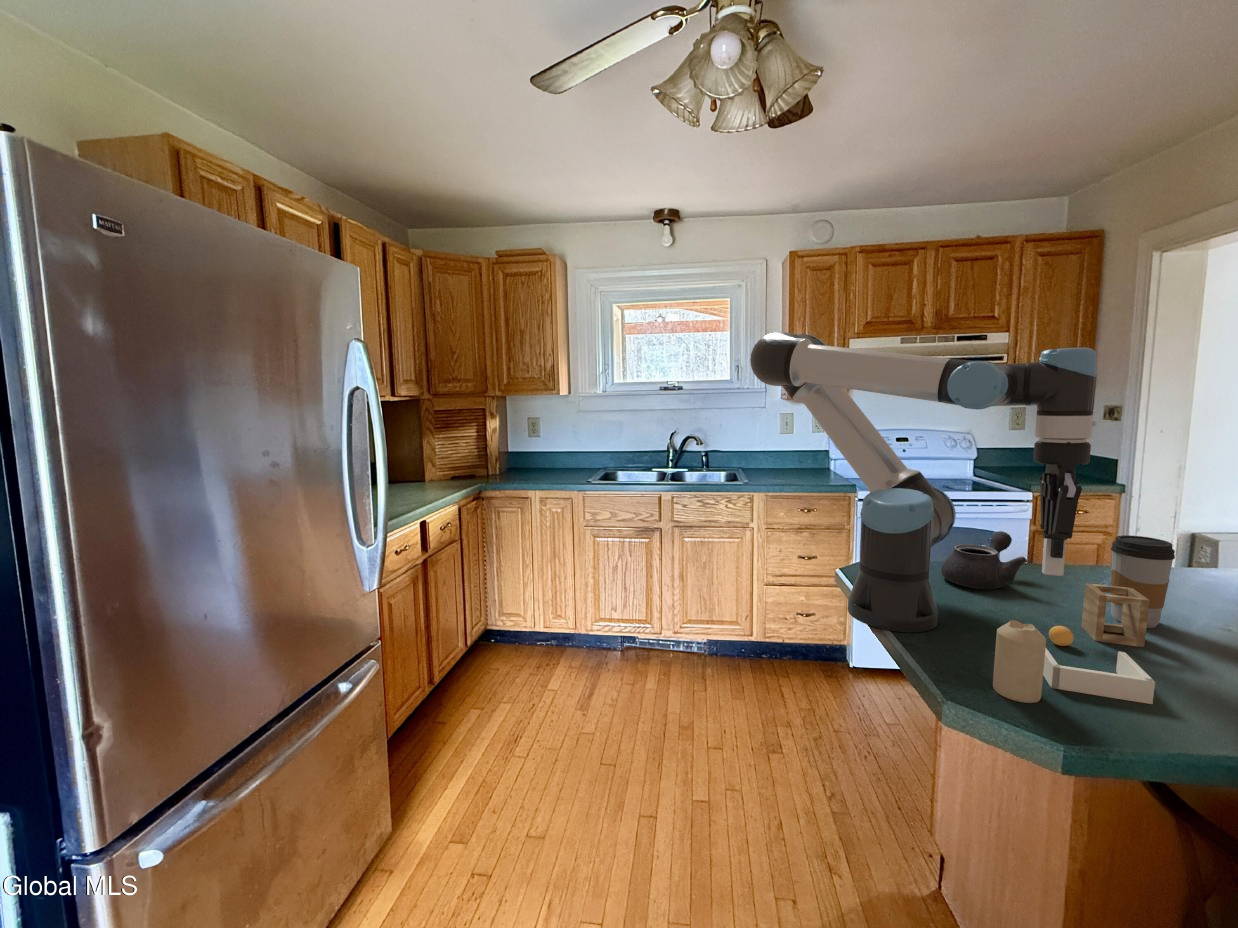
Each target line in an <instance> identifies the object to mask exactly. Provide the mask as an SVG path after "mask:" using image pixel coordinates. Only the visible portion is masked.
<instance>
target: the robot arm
mask: <svg viewBox="0 0 1238 928" xmlns="http://www.w3.org/2000/svg"><path fill="white" fill-rule="evenodd" d="M749 363H750V367H751V371H752V372H753V374H754V375H755V377H756V378H757V379H758V380H759V381H760V382H761V383H763V384H765V385H768V386H775V387H782V388H783V390H785V393H786V394H787V395H788V396H789V398H790V399H791V400H792V401H793V403H796V404H803V405H804V406H805V407H806V408H807V410H808V411H809V413H810V414H811V415H812V416H813V418H814V419H815V420H816V421H817V423H818V424H819V426H820V427H821V429H822V430H823V431H824V433H825V434H826V435H827V436H828V437H829V439H830V441H832V444H834V446H835V447H836V448H837V449H838V451H839V452H840V454H841V455H842V457H843V458H844V459H845V460H846V462H847V463H848V464H849V465H850V467H851V468H852V470H853V471H854V472H855V474H856V475H857V476H858V478H859V479H860V481H862V483H863V484H864V486H866V488H867V490H868V491H869V493H867V494H866V495H865V496H864V498H863V500H862V505H861V509H860V514H859V515H860V537H859V538H860V541H859V544H860V545H859V566H858V567H859V569H858V574H857V576H856V579H855V581H854V584H853V585H852V588H851V591H850V593H849V596H848V599H847V612H848V614H849V615H850V617H852V618H853V619H855V620H856V621H858V622H861V623H862V624H865V625H868V626H870V627H873V628H878V629H880V630H881V629H882V630H886V631H890V632H891V631H892V632H899V633H921V632H927V631H931V630H933V629H934V628H936V627H937V625H938V615H939V614H938V613H939V611H938V608H937V604H936V601H935V597H934V595H933V591H932V587H931V584H930V580H929V579H930V562H931V549H932V547H934V546H935V545H936V544H938V543H940V542H943V540H944V539H946V538H947V536H948V535H949V534H950V533H951V531H952V529H953V528H954V525H955V522H956V517H957V515H956V508H955V506H954V502H953V501H952V499H951V498H950V497H949V495H947V494H946V493H945V492H944V491H943V490H941V489H940V488H937V487H936V486H932V485H931V483H930V482H929V481H928V480H927V478H926V476H925V475H924V474H922V472H921V471H920V470H917V469H911V468H908V467H907V466H906V465H905V463H904V462H903V461H902V460H901V458H900V457H899V456H898V455H897V454H896V452H895V451H894V449H893V448H892V447H891V446H890V444H889V443H888V442H887V441H886V440H885V438H884V437H883V436H882V435H881V433H880V432H879V431H878V429H877V428H876V427H875V425H874V424H873V423H872V422H871V421H870V420H869V418H868V417H867V416H866V414H865V413H864V411H862V409H861V408H860V407H859V406H858V404H857V403H856V402H855V400H854V399H853V397H851V395H850V394H849V393H848V392H847V390H846V389H849V390H856V391H862V392H869V393H875V394H883V395H889V396H895V397H896V396H897V397H902V398H908V399H909V398H910V399H915V400H923V401H928V402H929V401H930V402H934V403H936V402H937V403H942V404H947V405H955V406H959V407H962V408H963V409H970V410H983V409H984V410H985V409H988V408H991V407H1008V406H1009V407H1012V406H1014V407H1015V406H1027V407H1028V406H1029V407H1030V406H1036V415H1035V423H1034V424H1035V427H1034V437H1035V438H1036V439H1038V440H1036V441H1035V442H1034V444H1033V445H1034V447H1033V461H1034V462H1035V463H1038V464H1043V465H1044V464H1045V470H1044V471H1045V472H1042V475H1039V477H1038V480H1039V481H1038V482H1039V487H1040V491H1039V492H1040V496H1039V497H1040V499H1039V500H1040V501H1039V502H1040V524H1039V525H1040V527H1039V528H1040V529H1041V530H1042V532H1043V534H1042V538H1043V547H1042V548H1043V551H1042V564H1041V572H1042V573H1043V575H1047V576H1057V577H1058V576H1061V577H1064V574H1065V572H1064V571H1065V560H1066V546H1067V540H1068V539H1069V540H1070V539H1072V538H1073V532H1074V527H1075V521H1076V517H1077V516H1076V515H1077V509H1078V505H1079V499H1080V497H1081V493H1082V491H1083V488H1082V485H1078V484H1079V483H1078V481H1079V477H1078V475H1077V474H1076V467H1077V466H1083V465H1088V464H1089V463H1090V461H1091V449H1092V448H1091V447H1092V444H1091V443H1090V442H1089V441H1087V440H1089V439H1091V438H1092V431H1093V428H1092V427H1095V426H1097V425H1096V424H1097V421H1096V420H1093V418H1094V411H1095V410H1094V406H1095V398H1096V389H1097V380H1098V372H1097V371H1098V370H1097V369H1098V354H1097V352H1096V351H1095V350H1094V349H1093V348H1090V347H1067V348H1056V349H1054V348H1053V349H1052V348H1051V349H1045V350H1043V351H1041V353H1040V356H1039V359H1038V361H1033V362H1021V363H1017V362H1016V363H995V362H991V361H984V360H969V359H968V360H967V359H959V358H958V359H957V358H956V359H955V358H948V357H939V356H928V355H921V354H918V355H917V354H910V353H909V354H908V353H901V352H900V353H899V352H892V351H891V352H890V351H881V350H880V351H879V350H871V349H862V348H861V349H859V348H852V347H841V346H832V345H827V344H826V343H825V342H824V341H823V340H821V339H820V338H818V337H816V336H812V335H811V334H805V333H804V334H803V333H802V334H801V333H798V334H797V333H792V332H786V331H775V332H771V333H767V334H765V335H764V336H762V337H761V338H760V339H759V340H758V341H757V342H756V343H755V344H754V345H753V347H752V351H751V353H750V361H749Z"/></svg>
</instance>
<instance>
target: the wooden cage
mask: <svg viewBox="0 0 1238 928" xmlns="http://www.w3.org/2000/svg"><path fill="white" fill-rule="evenodd" d="M1108 593H1109V594H1108ZM1111 593H1117V594H1124V596H1117V595H1111ZM1083 595H1084V596H1083V605H1082V606H1083V607H1082V614H1081V615H1082V617H1081V625H1080V627H1081V628H1082V629H1083V630H1084V631H1085V632H1086V633H1087V635H1088V636H1089V637H1090V638H1092V640H1093V641H1094V642H1102V643H1106V644H1107V643H1109V644H1115V645H1123V646H1131V647H1132V646H1133V647H1140V648H1144V647H1145V644H1146V635H1147V628H1146V627H1147V619H1148V610H1149V601H1150V600H1148V599H1147V598H1146V597H1144V596H1143V595H1141V594H1140V593H1139V592H1137V591H1136V590H1134V589H1133V588H1127V587H1117V586H1111V585H1106V584H1097V583H1096V584H1094V583H1085V586H1084V594H1083ZM1111 602H1114V603H1123V610H1122V619H1121V622H1120V624H1116V623H1108V622H1105V621H1106V610H1107V603H1111ZM1104 632H1108V633H1104ZM1109 632H1110V633H1111V634H1110V633H1109ZM1113 633H1118V634H1122V635H1118V634H1113Z"/></svg>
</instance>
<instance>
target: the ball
mask: <svg viewBox="0 0 1238 928" xmlns="http://www.w3.org/2000/svg"><path fill="white" fill-rule="evenodd" d="M1048 636H1049V639H1050V641H1051V642H1052V643H1053V644H1054V645H1056V646H1060V647H1066V646H1070V645H1071V644H1072V643H1073V642H1074V637H1075V636H1074V634H1073V632H1072V630H1070V628H1068V627H1066V626H1063V625H1055V626H1052V627H1051V628H1050V629H1049V631H1048Z"/></svg>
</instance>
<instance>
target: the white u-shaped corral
mask: <svg viewBox="0 0 1238 928" xmlns="http://www.w3.org/2000/svg"><path fill="white" fill-rule="evenodd" d="M1117 651H1118V650H1117ZM1115 672H1116V673H1113V672H1108V671H1100V670H1093V669H1089V668H1088V669H1086V668H1079V667H1075V666H1065V665H1060V664H1058V662H1057V661H1056V659H1055V658H1054V657H1053V655H1052V654H1051V652H1050V651H1049V650H1048V648H1046V649H1045V660H1044V671H1043V678H1044V679H1045V680H1046V682H1047V684H1048V686H1050V688H1051V689H1056V690H1062V691H1068V692H1073V693H1074V692H1075V693H1081V694H1087V695H1092V696H1098V697H1105V698H1111V699H1118V700H1124V701H1131V702H1134V703H1136V702H1137V703H1143V704H1149V705H1153V704H1154V694H1155V686H1156V681H1155V680H1154V678H1152V677H1151V676H1150V675H1149V674H1148V673H1147V672H1146V671H1145V670H1144V669H1142V667H1141V666H1139V664H1138V663H1136V662H1135V660H1134V659H1132V658H1131V657H1130V656H1129V654H1127V652H1124V651H1118V652H1117V658H1116V668H1115Z"/></svg>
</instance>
